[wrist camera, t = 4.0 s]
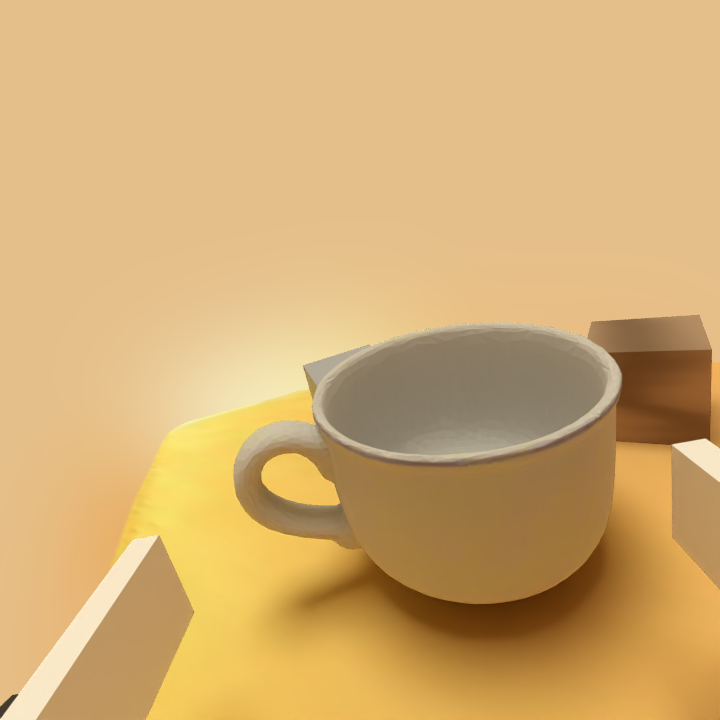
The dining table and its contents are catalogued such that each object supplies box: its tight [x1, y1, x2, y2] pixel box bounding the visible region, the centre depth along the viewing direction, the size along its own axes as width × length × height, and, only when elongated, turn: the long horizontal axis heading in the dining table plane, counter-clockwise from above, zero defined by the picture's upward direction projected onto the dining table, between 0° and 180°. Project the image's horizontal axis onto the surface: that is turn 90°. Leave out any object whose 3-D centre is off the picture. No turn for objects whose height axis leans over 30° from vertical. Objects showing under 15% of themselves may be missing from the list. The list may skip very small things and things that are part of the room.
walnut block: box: [588, 315, 712, 445], centre depth 23 cm, size 5×5×5 cm
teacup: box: [234, 323, 623, 604], centre depth 17 cm, size 14×11×8 cm
